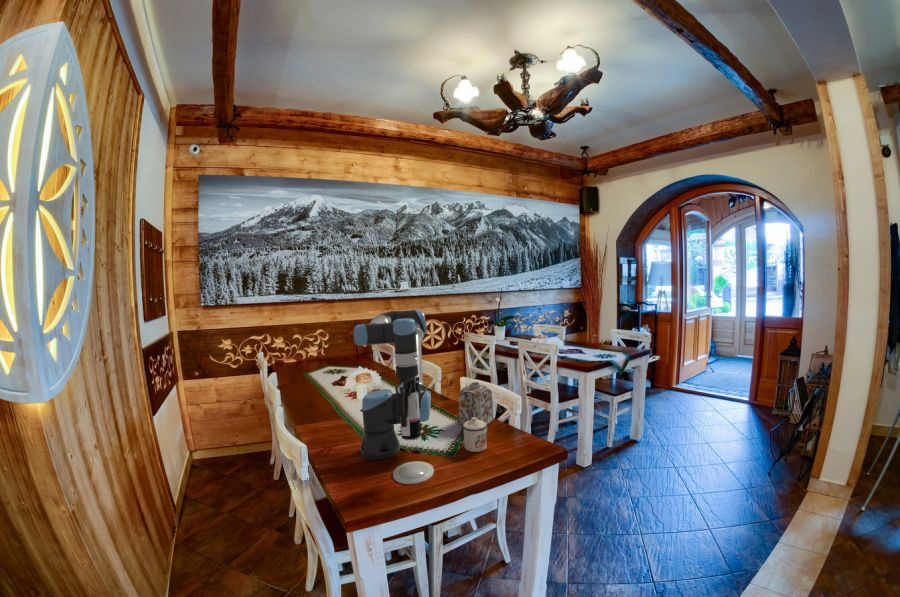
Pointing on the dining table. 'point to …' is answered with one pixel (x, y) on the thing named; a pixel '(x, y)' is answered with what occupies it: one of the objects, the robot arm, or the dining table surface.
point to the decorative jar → (475, 403)
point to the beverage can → (413, 417)
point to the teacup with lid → (475, 435)
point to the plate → (413, 472)
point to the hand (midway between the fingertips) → (410, 430)
